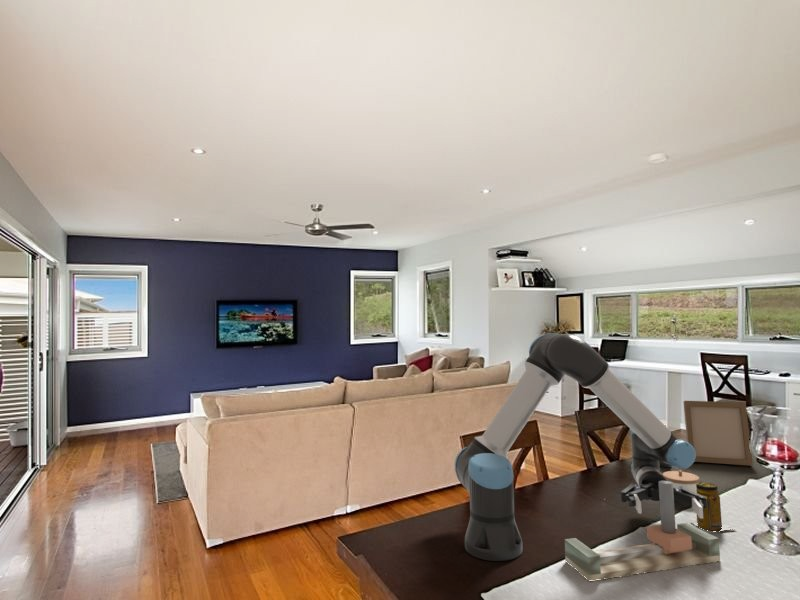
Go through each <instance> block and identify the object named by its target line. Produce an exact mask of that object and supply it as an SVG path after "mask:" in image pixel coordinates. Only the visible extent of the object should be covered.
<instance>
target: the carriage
mask: <svg viewBox="0 0 800 600" xmlns="http://www.w3.org/2000/svg"><path fill="white" fill-rule="evenodd" d="M659 499H660V501H659V511H660V512H659V516H660V524H656V525H649V526H646V534H647V539H648V540H649V541H651V542H652V543H653V545H660V546H661V547H663V553H665V554H668V553H675V552H682V551H686V550H688V549H692V540H691V536H690V535H688V534H686V533H684V532H682V531H680V530H678V529H677V527H676V513H675V501H674V494H673V483H672V482H670V481H659Z"/></svg>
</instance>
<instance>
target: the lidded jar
mask: <svg viewBox="0 0 800 600" xmlns="http://www.w3.org/2000/svg"><path fill="white" fill-rule="evenodd" d="M662 474H663V476H664V477H665V479H666V480H667V481H670V482H672V483H673V488H675V489H678V488H679V486H682V487H684V488H686V489H687V490H690V491H692V492H694V493H696V492H697V491H696V489H697V488H696V484H697V483H700V477H699V476H698V475H697V474H694V473H691V472H686V471H683V470H681V469H679V470H677V471H676V470H670V471H664V472H663V473H662Z"/></svg>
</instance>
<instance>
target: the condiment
mask: <svg viewBox="0 0 800 600" xmlns="http://www.w3.org/2000/svg"><path fill="white" fill-rule="evenodd" d="M696 488H697V489H696V491H697V492H696V493H697V494H699V495H701V496H704V497H706V498H707V508H704V511H703V519H702V518H699V517H698V515H697V514H696V523H698V524H697V525H698V527H700V528H702V529H704V530H703V531H705V532H707V533H709V534H713V533H714V534H715V533H716V534H717V533H724V532H725V531H720V530H721V529H722V528H721V527H722V524H723V523H722V510H721V507H722V506H721V497H720V495H719V490H718V489H719V488H718V486H717V484H714V483H711V482H710V483H709V482H700V481H699V483H697V484H696ZM698 527H697V528H698ZM700 528H699V529H700ZM702 529H701V530H702ZM707 530H708V531H707ZM713 531H716V532H713ZM719 531H720V532H719ZM733 531H736V529H734V530H733V528H732V530H731V529H730V530H727V531H726V532H733Z"/></svg>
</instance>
